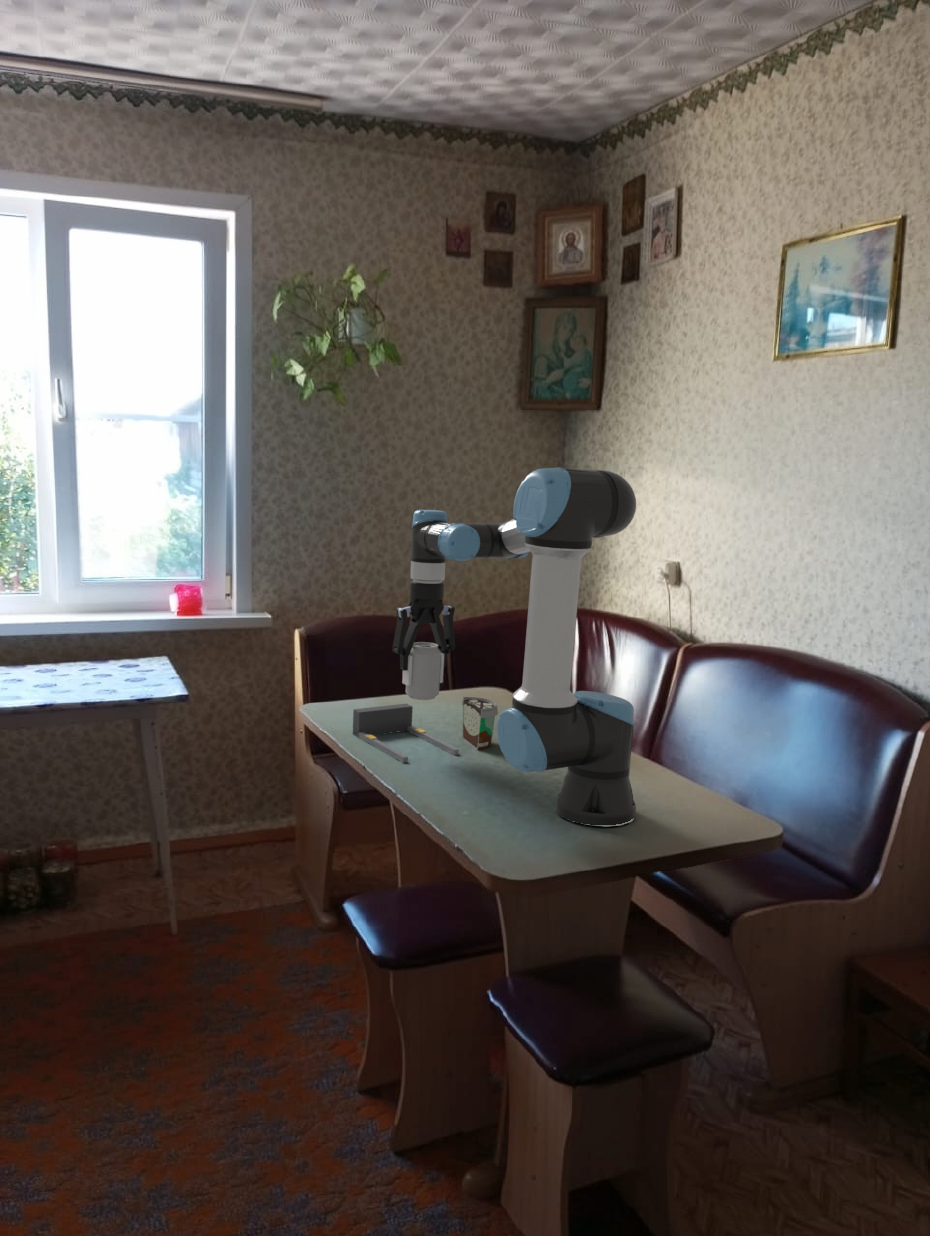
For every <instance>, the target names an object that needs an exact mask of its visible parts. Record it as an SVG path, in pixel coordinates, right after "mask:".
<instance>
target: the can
mask: <svg viewBox="0 0 930 1236" xmlns="http://www.w3.org/2000/svg"><path fill="white" fill-rule="evenodd" d="M409 655H410V656H412V657H413V660H412V683H411V686H407V685H405V694H406V695H407V696H408V697H409V698H410V699H412V700H418V701H419V700H421V701H429V700H434V699H435V698H436V697H438V695H440V683H439V681H440V661H441V651H440V650H439V649H438V645H437V644H436V642H435V643H434V642H428V641H427V642H426V641H418V642H414V644H413V647H412V649H411V652H410V654H409Z"/></svg>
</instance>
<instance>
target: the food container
mask: <svg viewBox="0 0 930 1236" xmlns="http://www.w3.org/2000/svg"><path fill="white" fill-rule="evenodd" d="M462 698H463V699H462V701H461V702H462V703H461V705H462V740H463V741H465V742H467V744H468V745H470V746H471V747H473V748H474V749H475V750H476V751H481V750H483V751H484V750H487V749H489V748H491V746H492V741H493V740H492V739H493V732H494V725H495V719H496V718H495V717H496V716H497V715H499V710H498V706H497V703H496V702H495V701H494V700H491V699H488V698H484V697H479V696H478V697H476V696H463V697H462Z"/></svg>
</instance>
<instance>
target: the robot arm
mask: <svg viewBox="0 0 930 1236" xmlns="http://www.w3.org/2000/svg"><path fill="white" fill-rule="evenodd" d="M636 511H637V498H636V494H635V491H634V490H633V487H632V485H630V483H629V482H628V481H627V480H626V479H625V478H624V477H623V476H621V475H619V474H618V473H615V472H612V471H610V470H598V469H597V470H594V469H577V468H576V469H575V468H566V467H565V468H562V467H548V468H538V469H535V470H533V471H531V472H530V473H528V475H527V476H526V477H525V478H524V479H523V480H522V482H521V483H520V485H519V487H518V489H517V491H516V494H515V497H514V501H513V511H512V513H513V518H512V519H510V520H508V521H504V522H500V523H485V522H484V523H483V522H481V523H477V522H475V523H473V522H472V523H471V522H452V521H451V522H450V521H449V520H448V514H447V512H446V511H444V510H437V509H417V510H415V511H414V513H413V515H412V516H413V517H412V525H411V546H410V547H411V553H410V557H411V559H410V577H409V578H410V579H411V580H410V582H409V603H408V606H406V607H397V608H396V617H397V618H396V619H397V620H396V626H395V632H394V637H393V642H392V650H391V651H392V652H394V653H395V654H398V655H399V667H400V670H402V681H401V683H402V684H403V685H405V686H406V685H407V686H411V683H412V660H413V657H412V656H410V655H409V654H410V652H411V649H412V647H413V644H414V643H415V641H416V639H417V636H418V634H419V631H420V629H421V628H422V626H423V625H426V624H427V623H428V624H429V626H430V628H431V631H432V634H433V637H434V640H435V644H437V645H438V649H439V650H440V651H441V661H440V681H439V684H443V683H444V668H446V666H447V663H448V661H447V660H448V655H449V654H451V651H454V650H455V649H456V640H455V638H456V637H455V628H454V614H455V610H456V609H455V607H454V606H452V605H451V606H450V605H448V604H447V605H445V604H444V602H443V599H444V598H445V596H444V595H445V594H444V593H445V583H444V582H443V581H444V580H445V579H446V578H445V577H446V559H449V560H451V561H454V562H456V561H458V562H465V561H466V562H467V561H469V560H484V559H501V560H503V559H506V560H517V559H523V558H526V557H528V556H529V554H530V553H531V555H532V559H531V569H530V582H529V594H528V595H529V596H528V609H527V621H526V635H525V646H524V647H525V648H524V657H523V658H524V659H523V671H522V684H521V686H520V687H519V688H518V689H516V691H514V692H513V693H512V701H511V702H512V703H511V704H512V705H511V707H508V708H506V709H504V710H502V712H501V713H500V715H499V716H498V718H497V723H496V724H497V725H496V734H497V740H498V744H499V748H500V751H501V752H502V754H503V757H504V759H505V760H506V762H507V763H508V764H509V765H510V766H511V767H512V768H513V769H515V770H516V771H517V772H522V773H530V772H531V773H532V772H536V773H542V772H544V771H545V772H546V771H550V770H551V771H552V770H558V769H563V768H567V771H566V775H565V777H564V780H563V782H562V786H561V789H560V792H558V793H557V796H556V799H555V812H556V814H557V813H558V814H559V815H558V814H557V815H558V816H560V815H561V816H563V817H564V818H566V819H569V820H571V821H575V822H578V823H583V824H590V825H616V824H622V823H625V822H628V821H630V820H631V819H633V818H634V816H635V817H636V812H637V811H636V810H637V807H636V806H637V804H636V802H635V799H634V794H633V793H634V792H633V789H632V784H631V781H630V769H631V757H632V745H633V735H634V727H635V722H634V719H635V718H634V716H635V714H634V713H635V708H634V705H633V704H632V703H631V702H630V701H629V700H626V699H625V698H624V697H623V698H622V697H619V696H616V695H613V694H607V693H603V692H597V691H590V690H589V691H588V690H578V691H575V692H574V693H573V692H571V681H572V669H573V658H574V646H575V635H576V634H575V633H576V625H577V614H578V603H579V590H580V580H581V570H582V568H581V567H582V559H583V557H584V556H585V555H587V554H588V553H589V552H590V551H591V550H592V543H593V539H599V538H602V537H607V536H613V535H617V534H618V533H621V532H622V531H624V530H625V529H626V528H627V527H629V525H630V524H631V522H632V521H633V520H634V517H635V514H636ZM441 614H442V621H441V618H440V615H441ZM410 615H411V617H410ZM409 617H410V620H409V621H408V619H409ZM408 622H409V625H408ZM442 625H443V627H442ZM407 626H408V627H407ZM561 816H560V817H561ZM564 818H563V819H564ZM566 819H565V820H566ZM571 821H570V822H571Z"/></svg>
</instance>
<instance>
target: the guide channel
mask: <svg viewBox="0 0 930 1236" xmlns="http://www.w3.org/2000/svg"><path fill="white" fill-rule="evenodd" d="M413 708H414V707H413V706H412V705H410V704H408V703H399V704H398V703H397V704H391V705H381V706H372V707H364V708H363V707H362V708H354V709H353V712H352V713H353V714H352V715H353V717H352V735H354V736H356V737H358V738H359V739H361V740H362V741H365V742H366V743H368V744H370V745H371V746H373V747H375V748H377V749H378V750H380V751H382V752H383V753H385V754H387V755H389V756H390V757H393V758H394V759H396V760H397V759H398V761H399V762H401V763H403V764H405V763H408V762H409V756H407V755H406V754H404V753H402V752H400V751H398V750H397V749H395V748H393V747H391V746H390V745H388V744H387V743H384V742H383V741H381V740H379V739H378V737H377V736H379V735H378V734H380V735H385V734H384V733H388V734H391V733H390V732H395V733H398V732H397V731H403V732H408V731H409V733H410V732H411V733H410V734H412V733H413V734H412V735H414V734H415V735H414V736H416V735H417V737H418V736H419V737H418V738H420V737H421V738H420V739H422V740H424V739H425V740H424V741H426V742H427V743H430V744H431V745H433V746H436V747H438V748H439V749H441V750H442V751H445V752H447V753H449V754H451V755H453V756H459V754H460V749H459V748H457V747H455V746H453V745H451V744H449V743H447V742H446V741H443V740H441V739H439V738H438V737H436V736H434V735H431V734H429V733H427V731H426V730H424V729H422V728H420V727H418V728H417V727H415V726H413Z"/></svg>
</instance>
